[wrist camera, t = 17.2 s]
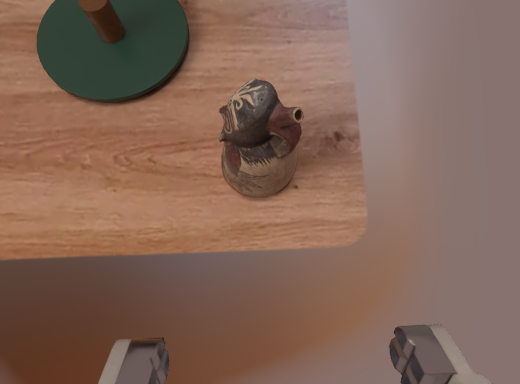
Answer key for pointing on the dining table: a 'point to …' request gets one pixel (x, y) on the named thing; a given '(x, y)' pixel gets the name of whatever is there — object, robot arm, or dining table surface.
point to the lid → (112, 46)
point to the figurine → (259, 140)
